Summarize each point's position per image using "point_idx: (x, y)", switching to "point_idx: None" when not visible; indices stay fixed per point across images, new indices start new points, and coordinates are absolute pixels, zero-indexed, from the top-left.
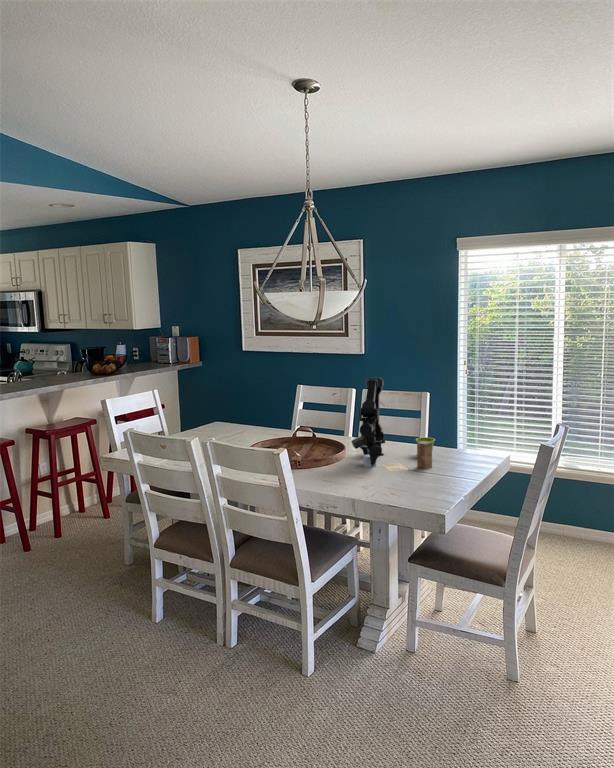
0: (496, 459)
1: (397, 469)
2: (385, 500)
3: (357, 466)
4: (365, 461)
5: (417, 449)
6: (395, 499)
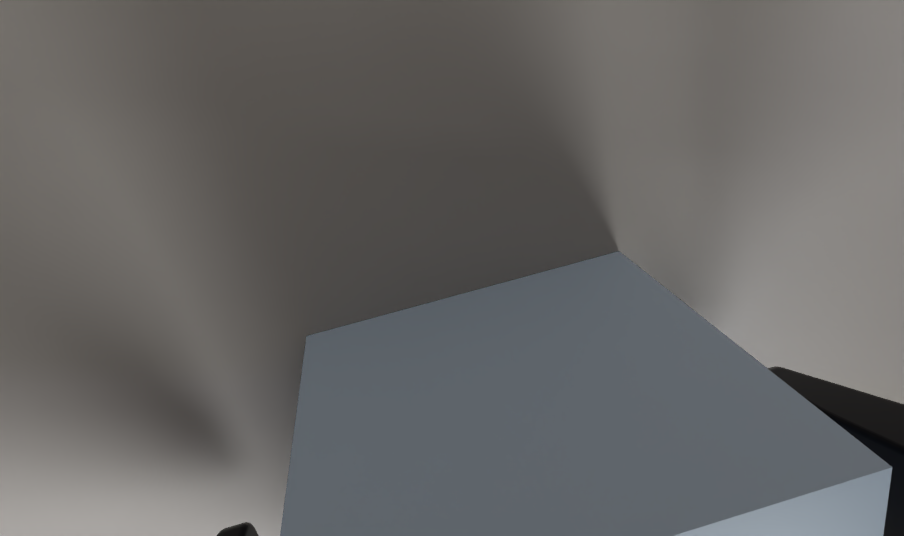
0: None
1: None
2: None
3: (463, 51)
4: (399, 421)
5: None
6: None
